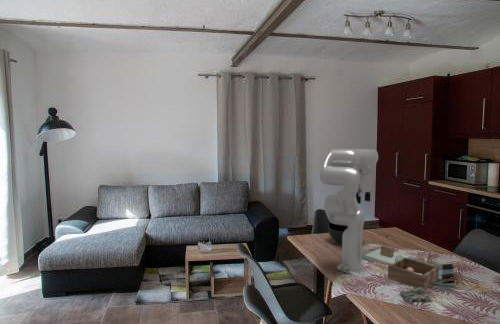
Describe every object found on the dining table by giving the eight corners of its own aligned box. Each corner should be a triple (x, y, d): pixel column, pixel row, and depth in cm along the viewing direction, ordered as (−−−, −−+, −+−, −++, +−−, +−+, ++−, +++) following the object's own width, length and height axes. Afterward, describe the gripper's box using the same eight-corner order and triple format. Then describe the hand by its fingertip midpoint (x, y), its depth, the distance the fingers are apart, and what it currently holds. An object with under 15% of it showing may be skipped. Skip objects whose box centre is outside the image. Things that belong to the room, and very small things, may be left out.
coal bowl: (349, 237, 219) (350, 209, 218) (367, 247, 200) (368, 216, 199) (322, 240, 214) (322, 211, 213) (338, 250, 195) (338, 218, 194)
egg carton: (423, 296, 139) (423, 286, 139) (432, 305, 132) (433, 295, 132) (397, 295, 140) (398, 286, 139) (405, 304, 132) (406, 295, 132)
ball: (412, 277, 155) (412, 269, 155) (404, 274, 158) (404, 267, 158) (415, 275, 158) (415, 267, 157) (407, 272, 160) (408, 265, 160)
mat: (396, 269, 166) (396, 268, 166) (357, 257, 183) (357, 256, 183) (416, 259, 180) (416, 258, 180) (378, 248, 197) (378, 247, 197)
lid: (394, 265, 170) (394, 254, 169) (364, 256, 183) (364, 246, 182) (409, 258, 180) (410, 247, 180) (380, 250, 194) (380, 239, 193)
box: (423, 292, 142) (424, 276, 142) (387, 280, 154) (388, 265, 154) (438, 281, 152) (439, 267, 152) (403, 271, 165) (404, 257, 164)
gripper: (361, 173, 175) (360, 205, 176) (377, 171, 186) (377, 201, 187) (348, 172, 181) (347, 203, 182) (365, 170, 192) (365, 199, 193)
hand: (362, 202), depth 185 cm, fingers open, 9 cm apart
